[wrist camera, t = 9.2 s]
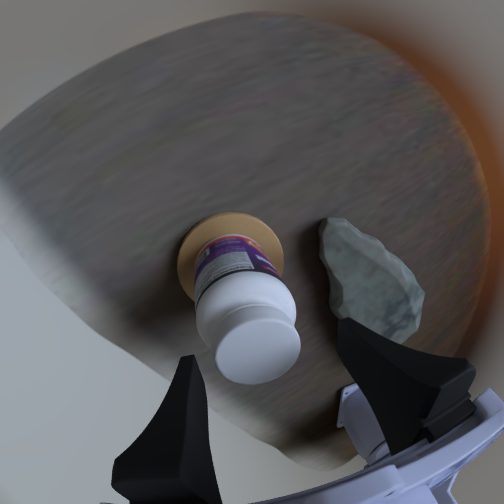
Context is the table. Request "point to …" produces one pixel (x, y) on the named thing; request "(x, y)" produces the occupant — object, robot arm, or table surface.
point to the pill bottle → (244, 311)
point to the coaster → (219, 227)
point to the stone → (369, 281)
